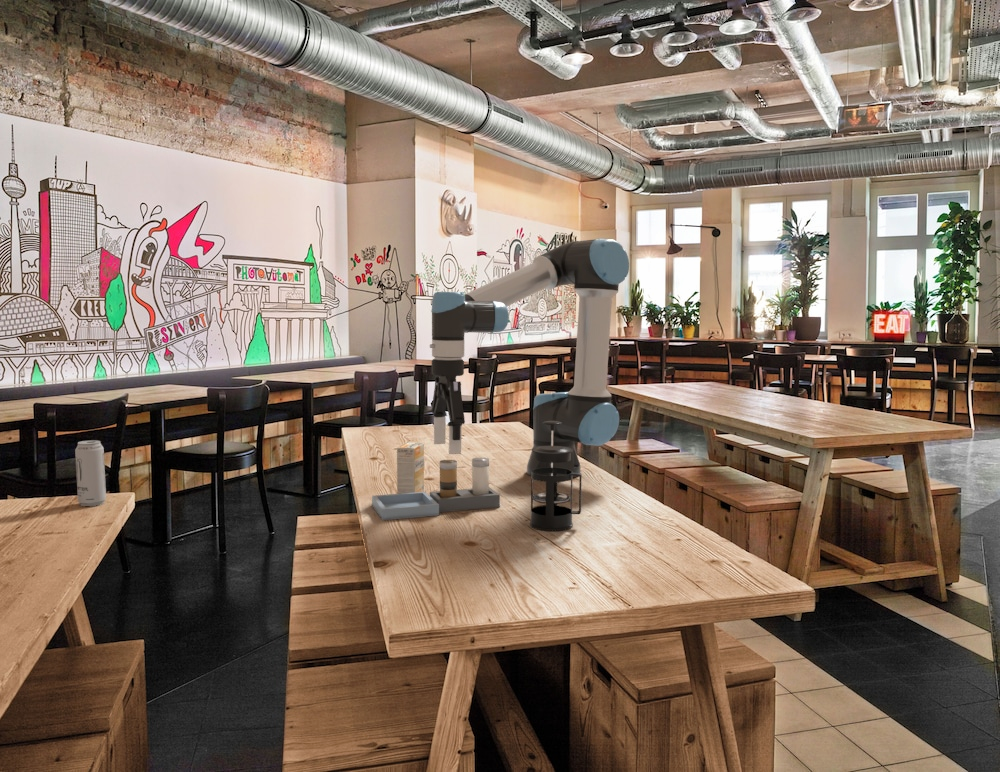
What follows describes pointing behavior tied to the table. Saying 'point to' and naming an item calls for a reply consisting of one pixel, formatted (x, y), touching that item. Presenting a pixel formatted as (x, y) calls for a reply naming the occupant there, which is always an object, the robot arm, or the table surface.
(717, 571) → the table surface
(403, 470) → the supplement box
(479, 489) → the cylinder
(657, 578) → the table surface
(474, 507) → the fuse block
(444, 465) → the fuse
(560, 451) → the french press
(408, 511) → the parts tray
